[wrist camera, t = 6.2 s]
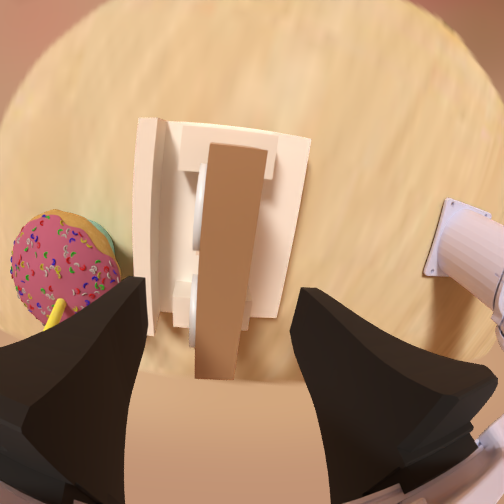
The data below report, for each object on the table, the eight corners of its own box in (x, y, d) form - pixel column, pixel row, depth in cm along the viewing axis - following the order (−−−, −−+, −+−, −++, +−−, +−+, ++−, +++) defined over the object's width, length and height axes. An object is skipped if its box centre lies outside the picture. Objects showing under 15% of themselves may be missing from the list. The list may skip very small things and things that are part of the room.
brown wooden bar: (249, 146, 14) (268, 150, 9) (227, 322, 18) (233, 379, 13) (205, 141, 13) (201, 142, 9) (192, 320, 17) (188, 378, 13)
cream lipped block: (301, 138, 18) (329, 139, 13) (271, 303, 22) (284, 341, 18) (153, 122, 16) (132, 117, 11) (147, 295, 21) (135, 334, 16)
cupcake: (146, 210, 18) (71, 311, 7) (130, 308, 21) (91, 432, 10) (47, 186, 16) (-67, 246, 5) (45, 281, 19) (-27, 375, 8)
